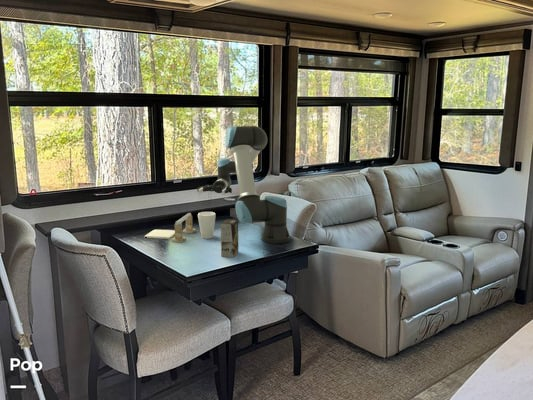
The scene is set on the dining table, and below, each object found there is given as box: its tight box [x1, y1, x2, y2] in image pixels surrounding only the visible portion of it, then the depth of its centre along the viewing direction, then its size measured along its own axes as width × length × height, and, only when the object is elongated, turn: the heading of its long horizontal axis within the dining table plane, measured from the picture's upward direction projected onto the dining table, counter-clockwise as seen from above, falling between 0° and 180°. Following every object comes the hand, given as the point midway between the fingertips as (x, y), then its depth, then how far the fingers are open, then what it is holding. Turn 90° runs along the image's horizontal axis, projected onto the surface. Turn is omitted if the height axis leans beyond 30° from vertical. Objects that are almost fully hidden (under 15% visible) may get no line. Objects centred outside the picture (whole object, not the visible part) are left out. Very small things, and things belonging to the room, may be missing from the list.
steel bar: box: [174, 212, 192, 225], centre depth 249 cm, size 22×2×2 cm, turn 172°
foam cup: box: [197, 211, 216, 240], centre depth 248 cm, size 10×9×13 cm
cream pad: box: [144, 229, 175, 240], centre depth 253 cm, size 14×14×1 cm
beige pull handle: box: [171, 215, 196, 243], centre depth 250 cm, size 23×6×9 cm, turn 172°
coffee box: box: [220, 219, 239, 258], centre depth 218 cm, size 9×6×16 cm
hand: (210, 192), depth 255 cm, fingers open, 13 cm apart
